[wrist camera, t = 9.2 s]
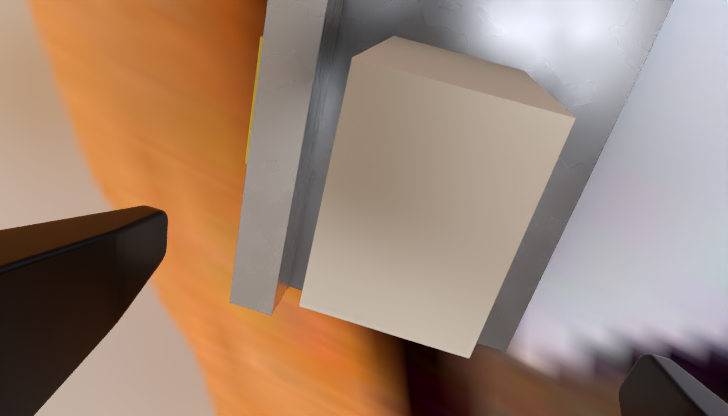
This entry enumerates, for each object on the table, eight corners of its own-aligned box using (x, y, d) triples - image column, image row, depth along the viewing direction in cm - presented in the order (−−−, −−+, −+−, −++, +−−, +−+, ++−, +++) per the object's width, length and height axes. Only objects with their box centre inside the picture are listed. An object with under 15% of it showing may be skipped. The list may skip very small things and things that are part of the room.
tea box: (523, 70, 17) (575, 118, 10) (463, 231, 20) (469, 358, 13) (390, 34, 17) (346, 56, 10) (350, 198, 20) (294, 304, 13)
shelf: (791, -271, 13) (887, -348, 10) (503, 340, 23) (511, 389, 20) (339, -364, 14) (309, -461, 11) (249, 264, 24) (221, 300, 21)
